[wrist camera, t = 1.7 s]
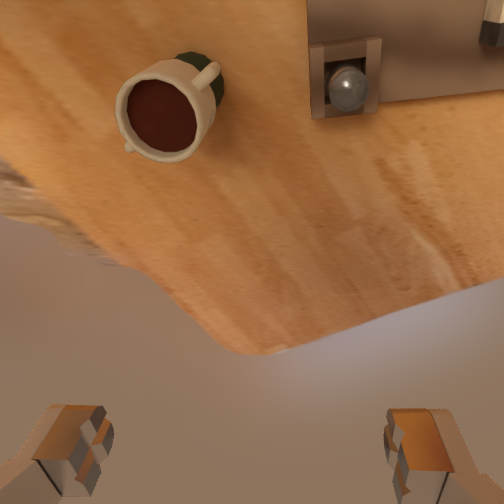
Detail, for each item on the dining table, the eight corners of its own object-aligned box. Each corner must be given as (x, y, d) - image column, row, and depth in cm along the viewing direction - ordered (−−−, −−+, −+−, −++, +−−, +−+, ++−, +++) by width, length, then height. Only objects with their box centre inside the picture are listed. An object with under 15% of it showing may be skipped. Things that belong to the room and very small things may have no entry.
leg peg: (326, 63, 32) (329, 72, 28) (362, 58, 31) (370, 67, 28) (326, 101, 34) (329, 113, 30) (361, 97, 33) (368, 109, 30)
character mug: (183, 140, 42) (147, 191, 32) (138, 88, 39) (81, 126, 29) (256, 79, 37) (240, 116, 27) (210, 15, 34) (173, 29, 24)
